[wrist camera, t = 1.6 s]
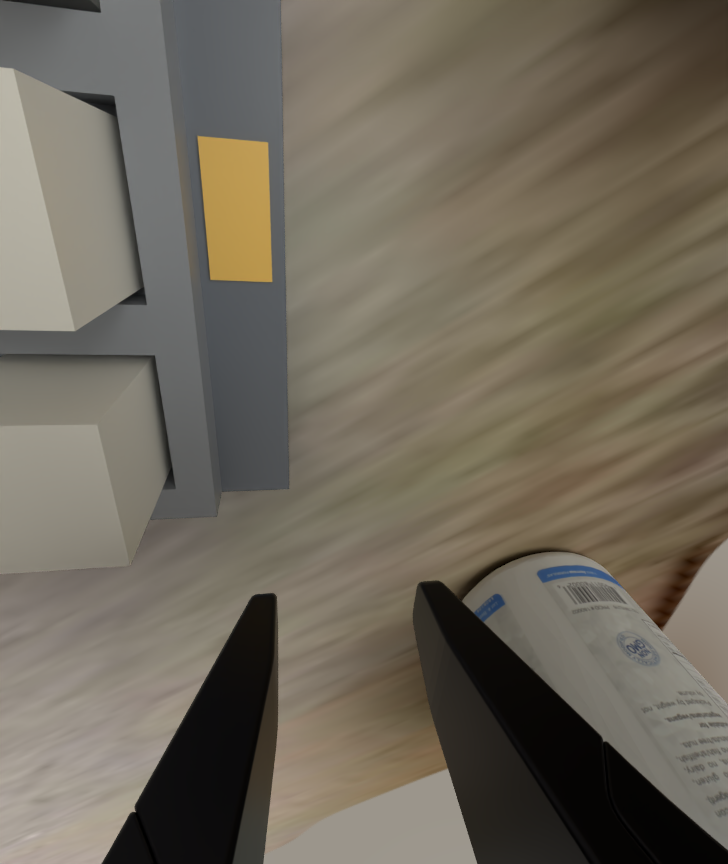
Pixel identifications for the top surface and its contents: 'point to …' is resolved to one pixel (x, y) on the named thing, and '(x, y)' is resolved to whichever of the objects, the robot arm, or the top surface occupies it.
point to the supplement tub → (615, 674)
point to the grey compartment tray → (186, 220)
